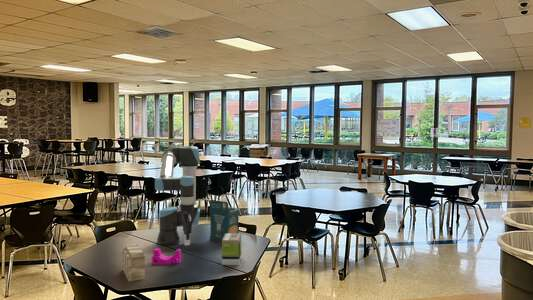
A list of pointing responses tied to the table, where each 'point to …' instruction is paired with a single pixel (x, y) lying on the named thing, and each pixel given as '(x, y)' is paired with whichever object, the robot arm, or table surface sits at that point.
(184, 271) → the table surface
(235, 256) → the tea box
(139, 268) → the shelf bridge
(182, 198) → the robot arm
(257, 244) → the table surface
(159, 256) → the toy block
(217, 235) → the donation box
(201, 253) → the table surface
